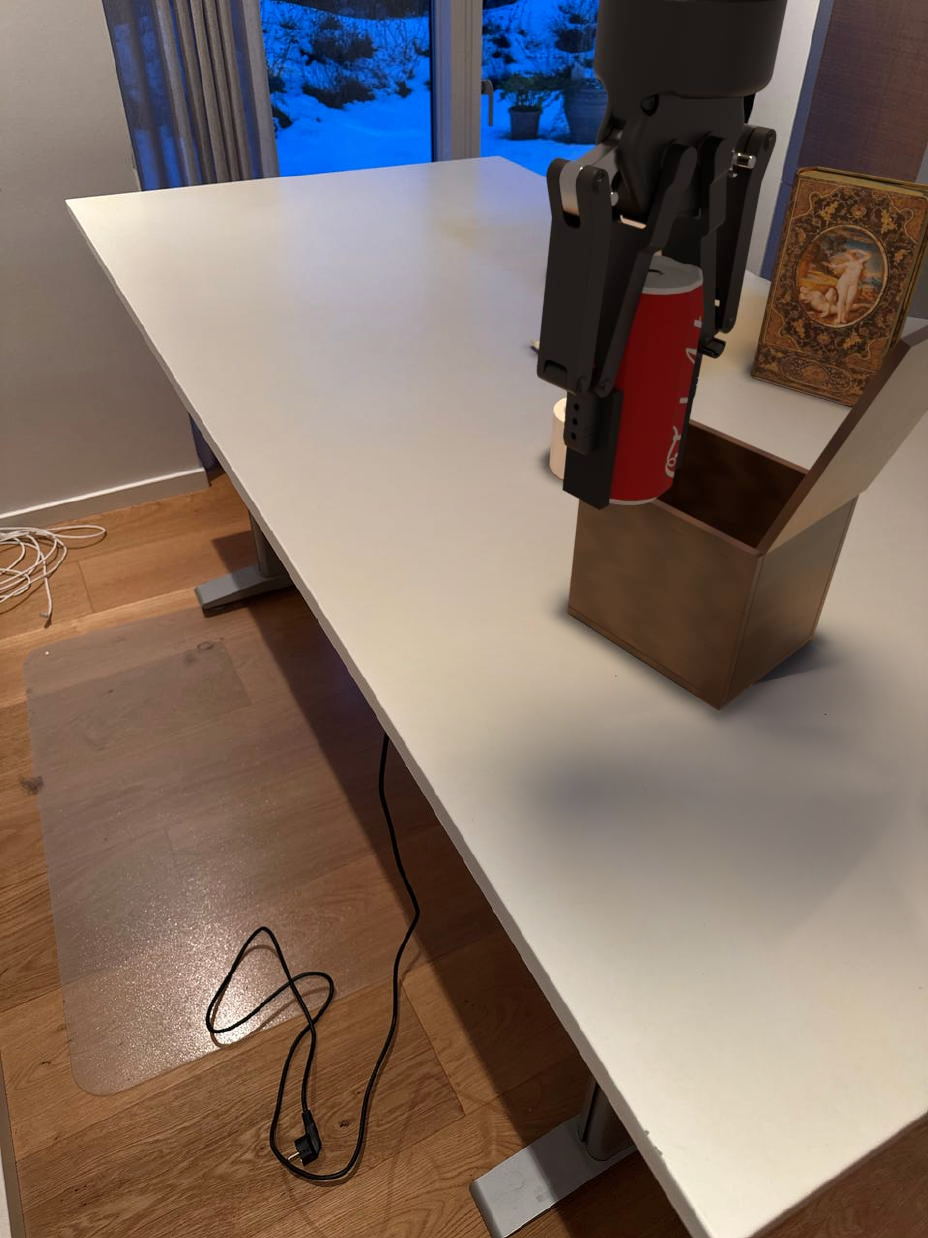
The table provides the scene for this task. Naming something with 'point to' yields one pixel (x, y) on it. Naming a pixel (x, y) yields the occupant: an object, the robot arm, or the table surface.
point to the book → (841, 281)
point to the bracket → (558, 440)
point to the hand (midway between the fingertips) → (622, 477)
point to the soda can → (656, 380)
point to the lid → (860, 440)
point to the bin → (707, 569)
